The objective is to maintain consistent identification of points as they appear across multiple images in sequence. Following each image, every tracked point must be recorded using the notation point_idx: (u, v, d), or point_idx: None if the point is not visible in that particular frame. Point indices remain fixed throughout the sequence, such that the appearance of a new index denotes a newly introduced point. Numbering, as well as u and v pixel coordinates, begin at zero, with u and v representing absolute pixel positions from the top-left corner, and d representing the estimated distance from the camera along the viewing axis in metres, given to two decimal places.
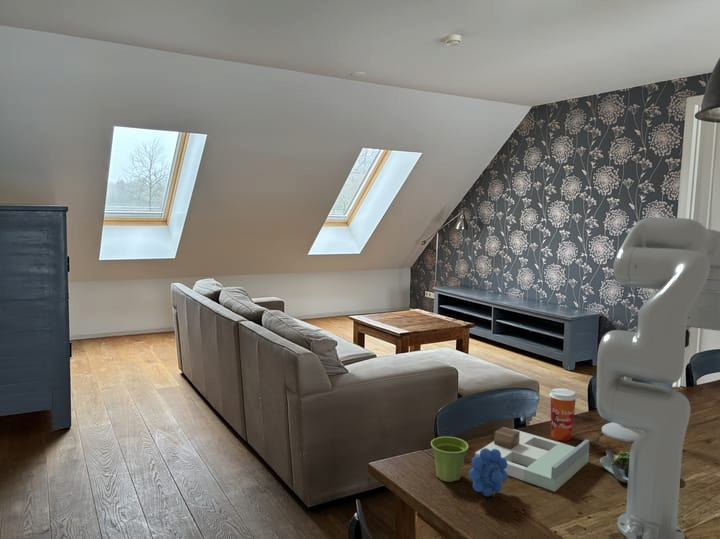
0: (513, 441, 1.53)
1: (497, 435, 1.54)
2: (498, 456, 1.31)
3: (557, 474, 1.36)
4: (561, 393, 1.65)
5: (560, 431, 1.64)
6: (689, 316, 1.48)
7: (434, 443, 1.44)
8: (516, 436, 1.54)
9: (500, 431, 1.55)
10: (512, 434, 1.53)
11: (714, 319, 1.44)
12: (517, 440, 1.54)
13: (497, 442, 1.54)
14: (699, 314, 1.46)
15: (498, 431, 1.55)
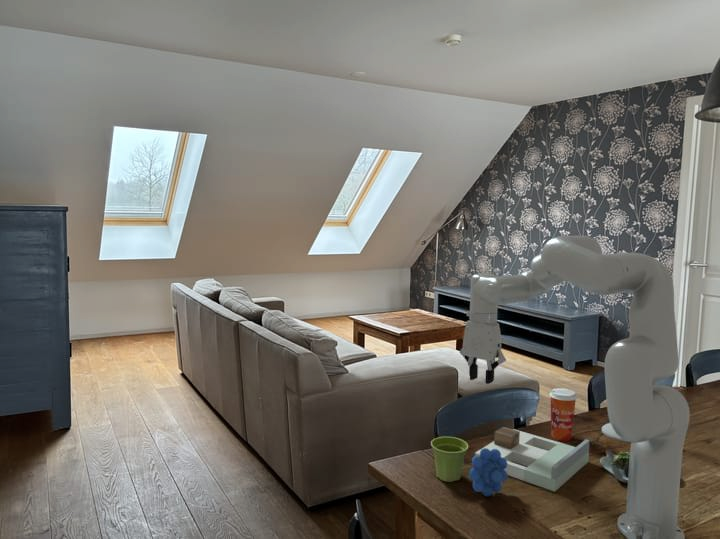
0: (513, 441, 1.53)
1: (497, 435, 1.54)
2: (498, 456, 1.31)
3: (557, 474, 1.36)
4: (561, 393, 1.65)
5: (560, 431, 1.64)
6: (465, 346, 1.59)
7: (434, 443, 1.44)
8: (516, 436, 1.54)
9: (500, 431, 1.55)
10: (512, 434, 1.53)
11: (482, 349, 1.55)
12: (517, 440, 1.54)
13: (497, 442, 1.54)
14: (472, 344, 1.57)
15: (498, 431, 1.55)
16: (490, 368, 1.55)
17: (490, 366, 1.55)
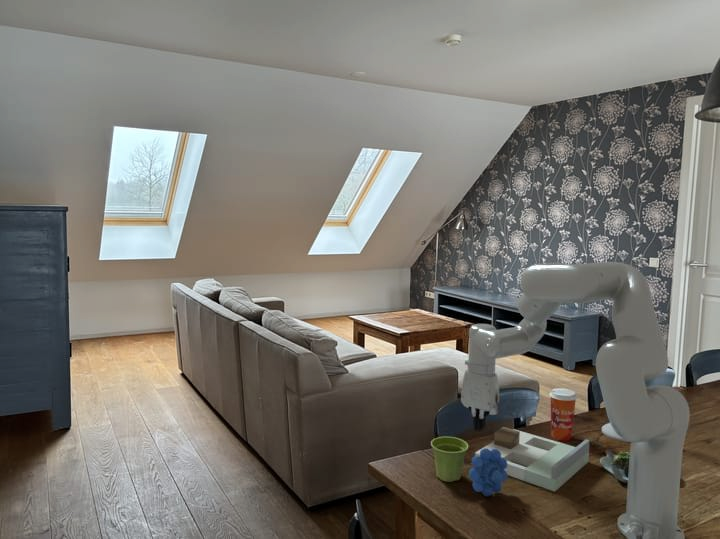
0: (513, 441, 1.53)
1: (497, 435, 1.54)
2: (498, 456, 1.31)
3: (557, 474, 1.36)
4: (561, 393, 1.65)
5: (560, 431, 1.64)
6: (463, 395, 1.60)
7: (434, 443, 1.44)
8: (516, 436, 1.54)
9: (500, 431, 1.55)
10: (512, 434, 1.53)
11: (480, 400, 1.56)
12: (517, 440, 1.54)
13: (497, 442, 1.54)
14: (470, 394, 1.59)
15: (498, 431, 1.55)
16: (481, 417, 1.58)
17: (482, 415, 1.58)
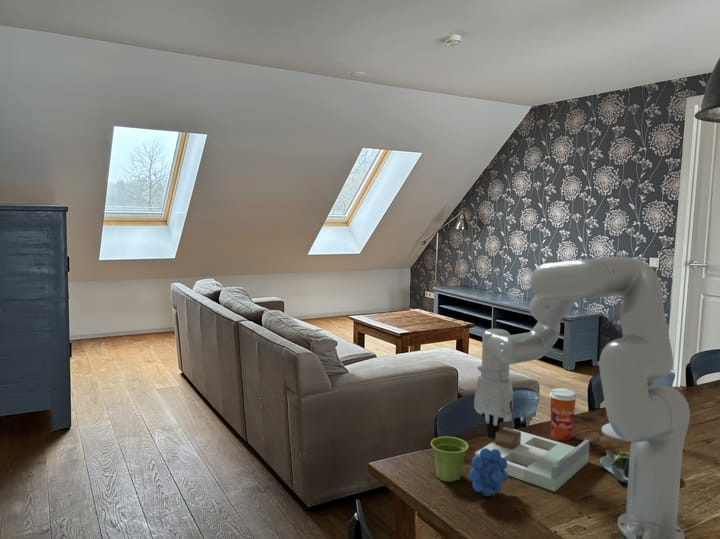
0: (515, 442, 1.52)
1: (498, 435, 1.54)
2: (498, 456, 1.31)
3: (557, 474, 1.36)
4: (561, 393, 1.65)
5: (560, 431, 1.64)
6: (476, 401, 1.58)
7: (434, 443, 1.44)
8: (517, 436, 1.54)
9: (501, 431, 1.55)
10: (513, 434, 1.53)
11: (494, 406, 1.54)
12: (518, 440, 1.54)
13: (498, 442, 1.54)
14: (483, 400, 1.56)
15: (499, 431, 1.55)
16: (495, 424, 1.56)
17: (496, 422, 1.55)
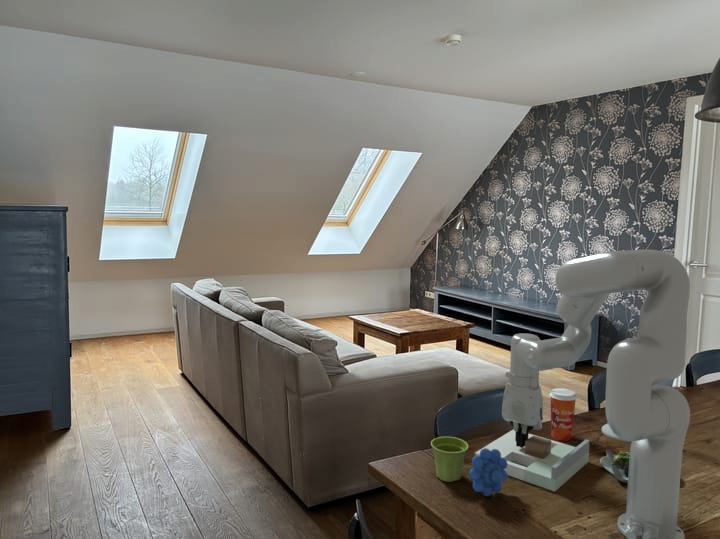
0: (545, 451, 1.47)
1: (528, 444, 1.48)
2: (498, 456, 1.31)
3: (557, 474, 1.36)
4: (561, 393, 1.65)
5: (560, 431, 1.64)
6: (504, 409, 1.52)
7: (434, 443, 1.44)
8: (548, 445, 1.48)
9: (530, 440, 1.49)
10: (544, 443, 1.47)
11: (524, 414, 1.48)
12: (549, 449, 1.49)
13: (528, 451, 1.48)
14: (512, 408, 1.50)
15: (529, 440, 1.49)
16: (524, 432, 1.50)
17: (525, 430, 1.50)
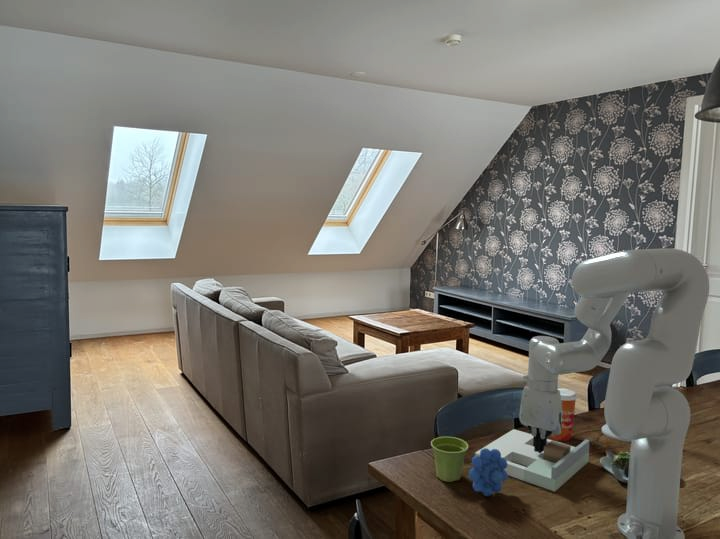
0: None
1: (547, 450, 1.45)
2: (498, 456, 1.31)
3: (557, 474, 1.36)
4: (561, 393, 1.65)
5: None
6: (522, 413, 1.48)
7: (434, 443, 1.44)
8: (567, 451, 1.45)
9: (549, 445, 1.46)
10: (563, 449, 1.44)
11: (543, 419, 1.44)
12: None
13: (547, 457, 1.45)
14: (530, 412, 1.47)
15: (548, 445, 1.46)
16: (543, 437, 1.46)
17: (544, 435, 1.46)
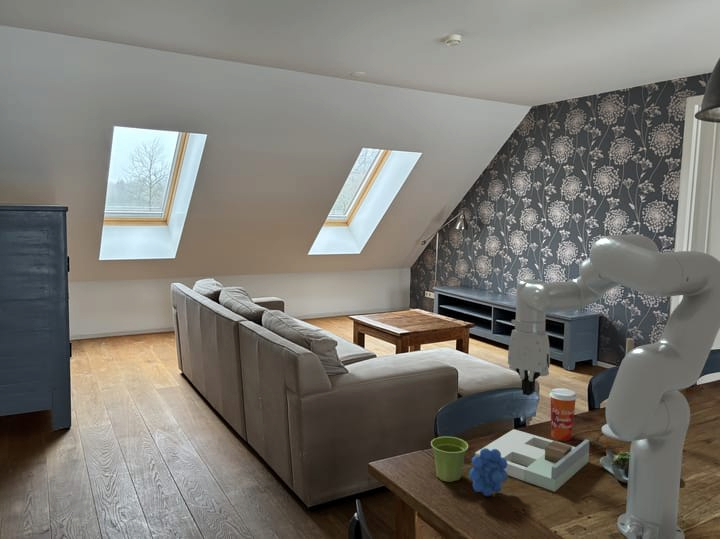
0: None
1: (548, 450, 1.45)
2: (498, 456, 1.31)
3: (557, 474, 1.36)
4: (561, 393, 1.65)
5: (560, 431, 1.64)
6: (510, 356, 1.49)
7: (434, 443, 1.44)
8: (569, 451, 1.44)
9: (550, 445, 1.46)
10: (564, 449, 1.43)
11: (530, 360, 1.45)
12: None
13: (548, 458, 1.45)
14: (518, 355, 1.48)
15: (549, 446, 1.45)
16: (531, 379, 1.47)
17: (532, 377, 1.47)
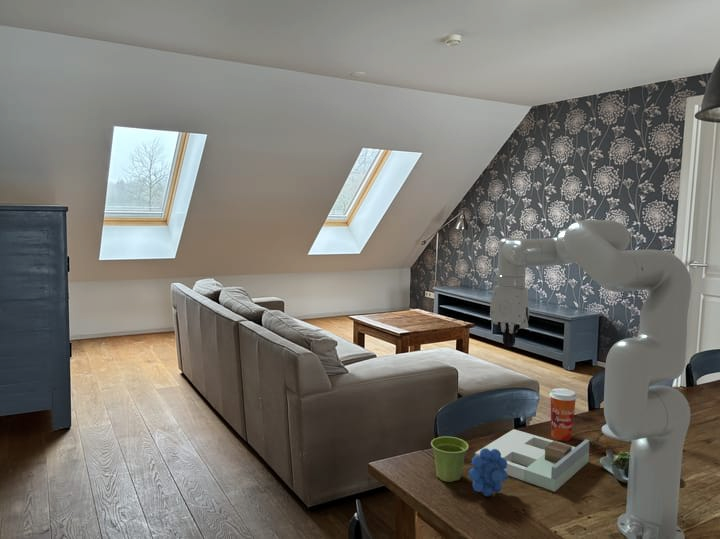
0: None
1: (548, 450, 1.45)
2: (498, 456, 1.31)
3: (557, 474, 1.36)
4: (561, 393, 1.65)
5: (560, 431, 1.64)
6: (492, 310, 1.59)
7: (434, 443, 1.44)
8: (569, 451, 1.44)
9: (550, 445, 1.46)
10: (564, 449, 1.43)
11: (511, 313, 1.55)
12: None
13: (548, 458, 1.45)
14: (499, 309, 1.57)
15: (549, 446, 1.45)
16: (511, 331, 1.57)
17: (512, 330, 1.57)
